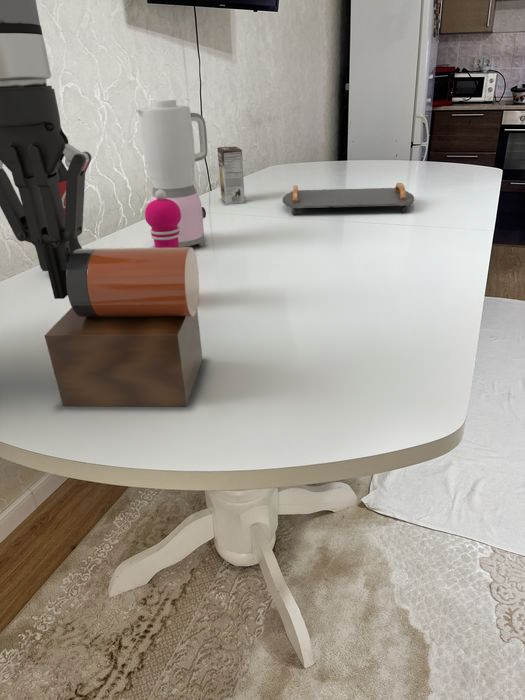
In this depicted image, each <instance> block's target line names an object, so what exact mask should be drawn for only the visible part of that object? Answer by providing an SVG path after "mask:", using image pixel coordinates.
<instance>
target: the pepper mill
mask: <svg viewBox="0 0 525 700" xmlns="http://www.w3.org/2000/svg"><path fill="white" fill-rule="evenodd" d="M155 197H156V198H157V199H156V200H154V201H152V202H150V201H149V203H148V204H147V206H146V207H145V211H144V218H145V221H146V223H147V225H149V226H150V230H149V232H150V239H152V240H153V243H154V248H158V247H179V243H178V237H179V236H180V232H179V230H180V228H179V227H178V226H177V225H178V223H179V222H180V220H181V212H180V208H179V206H178V205H177V204H176V203H175V202H174V201H172V200H169V199H165V198H166V193H165V192H164V191H163V190H157V191H156V193H155Z"/></svg>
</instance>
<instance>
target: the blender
mask: <svg viewBox="0 0 525 700" xmlns="http://www.w3.org/2000/svg"><path fill="white" fill-rule="evenodd" d="M151 105H152V106H148V107H141V108H140V109H137V110H136V113H137V114H138V115H139V120H140V121H139V123H140V133H141V140H142V148H143V155H144V161H145V164H146V166H147V170H148V174H149V178H150V180H151V185H152V194H151V197H150V201H149V203H150V202H152V201H154V200H156V199H157V198H156V197H155V193H156V191H157V190H163V191H164V192H165V193H166V198H165V199H169V200H172V201H174V202H175V203H176V204H177V205H178V206H179V208H180V212H181V220H180V222H179V223H178V225H177V226H178V227H179V228H180V230H179V232H180V236H179V237H178V243H179V247H191V246H194V245H198V247H200V248H202V247H203V246H204V245H205V231H204V219H205V218H206V217H207V211H206V209H205V207H204V206H202V201H201V197H200V196H199V194H198V192H197V190H196V188H195V165H196V162H199V161H202V160H204V159H205V158H207V156H208V136H207V125H206V120H205V118H204V117H203V115H201V114H200V113H199V112H191V108H190V106H189V105H177V100H176V99H155V100H152V101H151ZM193 122H196V123H197V126H198V136H199V137H198V138H199V152H196V150H195V149H196V148H195V140H194V129H193Z"/></svg>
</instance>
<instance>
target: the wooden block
mask: <svg viewBox="0 0 525 700" xmlns="http://www.w3.org/2000/svg"><path fill="white" fill-rule="evenodd" d="M44 339H45V343H46V348H47V351H48V356H49V358H50V362H51V366H52V370H53V373H54V377H55V383H56V385H57V390H58V394H59V397H60V400H61V405H62V406H63V407H187V406H188V404H189V400H190V398H191V395H192V392H193V390H194V386H195V383H196V380H197V377H198V374H199V371H200V369H201V366H202V362H203V360H204V359H203V351H202V350H203V349H202V341H201V330H200V321H199V312H198V310H197V311H196V313H195V315H194V316H189V317H80V316H78V315H77V314H76V313H75V312H74V310H73V309H72V307H71V308H69V309H68V311H67V312H66V313H65V314H63V316H62V317H61V318H60V319H59V320H58V321H57V322H56V323H55V324H54V325H53V326H52V327H51V328H50V329H49V330H48V331H47V332H46V333H45V334H44Z"/></svg>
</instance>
